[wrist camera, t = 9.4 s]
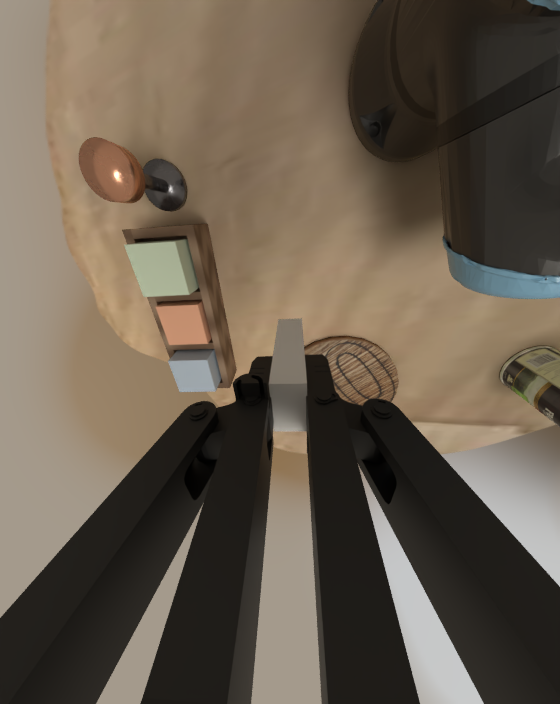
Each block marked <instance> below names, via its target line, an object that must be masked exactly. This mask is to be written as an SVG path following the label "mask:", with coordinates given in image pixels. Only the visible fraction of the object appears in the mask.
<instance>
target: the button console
mask: <svg viewBox="0 0 560 704" xmlns="http://www.w3.org/2000/svg"><path fill="white" fill-rule="evenodd" d="M122 231H123V234H124V236H125V239H126V242H127V244H133V243H140V242H152V241H166V240H181V239H188V243H189V247H190V251H191V255H192V259H193V264H194V268H195V272H196V276H197V280H198V284H199V288H198V289H197V290H195V291H194V292H192V293H191V294H190V295H174V296H154V297H147V298H148V301H149V304H150V306H151V309H152V312H153V314H154V317H155V320H156V322H157V325H158V328H159V331H160V333H161V336H162V339H163V341H164V344H165V347H166V349H167V352H168V355H169V357H170V358H171V357H172V356H173V355H174V354H175V353H176V351H177V350H189V349H215V353H216V357H217V361H218V365H219V370H220V374H221V381H220V383H219V385H218V387H217V388H230V386H231V384H232V381H233V378H234V376H235V373H236V365H235V360H234V355H233V350H232V345H231V339H230V334H229V329H228V324H227V319H226V314H225V309H224V304H223V299H222V294H221V289H220V284H219V279H218V274H217V269H216V264H215V259H214V254H213V249H212V244H211V238H210V233H209V228H208V224H194V225H180V226H167V227H153V228H140V229H126V230H122ZM200 299H202V300H203V304H204V308H205V312H206V317H207V321H208V325H209V329H210V333H211V337H212V338H211V340H210V341H209V343H208V344H186V345H169V343H168V340H167V337H166V335H165V332H164V329H163V326H162V324H161V321H160V318H159V315H158V313H157V310H156V306H158V305H159V304H161V303H162V302H164V301H179V300H200Z"/></svg>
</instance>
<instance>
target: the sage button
mask: <svg viewBox="0 0 560 704" xmlns="http://www.w3.org/2000/svg"><path fill="white" fill-rule="evenodd" d="M124 246H125V249H126V251H127V254H128V257H129V259H130V262H131V265H132V267H133V270H134V273H135V275H136V278H137V280H138V283H139V286H140V288H141V291H142V294H143V296H144V297H154V296H174V295H190V294H191V293H192V292H194V291H195V290H197V289H198V288H199V284H198V280H197V276H196V272H195V268H194V264H193V259H192V255H191V251H190V247H189V243H188V239H181V240H166V241H152V242H140V243H133V244H127V245H124Z"/></svg>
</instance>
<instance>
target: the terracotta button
mask: <svg viewBox="0 0 560 704" xmlns="http://www.w3.org/2000/svg"><path fill="white" fill-rule="evenodd" d="M156 310H157V313H158V315H159V318H160V321H161V324H162V326H163V329H164V332H165V335H166V337H167V340H168V343H169V345H186V344H208V343H209V341H210V340H211V338H212V337H211V333H210V329H209V325H208V321H207V317H206V312H205V308H204V304H203V300H202V299H200V300H179V301H164V302H162V303H161V304H159V305H158V306H156Z"/></svg>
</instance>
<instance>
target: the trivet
mask: <svg viewBox="0 0 560 704" xmlns="http://www.w3.org/2000/svg"><path fill="white" fill-rule="evenodd" d="M304 352H305V355H316V354H323V355H324V356H325V357H326V358H327V359H328V362H329V367H330V370H331V374H332V378H333V383H334V387H335V391H336V392H337V393H338V394H339V396H340V398H342V399H343V400H345V401H347V402H350V403H353V404H357V405H362V406H363V404H364V403H365V402H366V401H367V400H370V399H383V400H387V401H389V402H392V400H393V398H394V396H395V395H396V391H397V387H398V382H399V381H398V374H397V369H396V367H395V365H394V364H393V362H392V360H391V358H390V357H389V355H388V354H387V353H386V352H385V351H383V350H382V349H381V348H380V347H379V346H378V345H376V344H374V343H372V342H369V341H367V340H365V339H362V338H356V337H350V336H339V337H329V338H325V339H322V340H319V341H315V342H313V343H311V344H310V345H308V346H306V347H304Z"/></svg>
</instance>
